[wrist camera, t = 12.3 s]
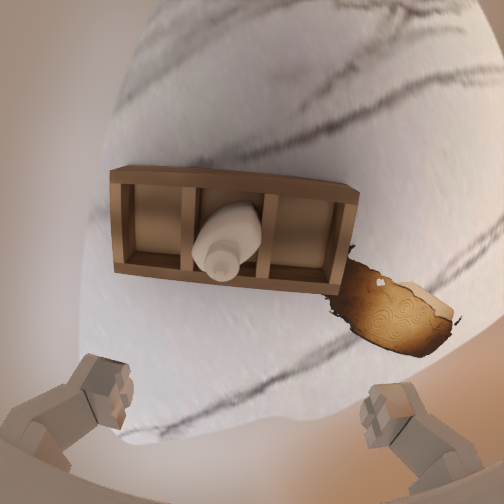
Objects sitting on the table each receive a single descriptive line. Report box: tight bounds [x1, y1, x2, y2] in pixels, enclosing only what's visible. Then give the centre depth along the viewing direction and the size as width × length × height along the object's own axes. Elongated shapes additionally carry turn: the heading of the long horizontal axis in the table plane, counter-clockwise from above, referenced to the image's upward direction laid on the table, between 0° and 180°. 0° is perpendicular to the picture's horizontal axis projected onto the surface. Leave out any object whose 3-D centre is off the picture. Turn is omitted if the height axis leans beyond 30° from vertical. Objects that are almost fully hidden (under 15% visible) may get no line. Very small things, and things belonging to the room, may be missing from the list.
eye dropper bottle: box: [191, 201, 262, 282], centre depth 25 cm, size 4×6×12 cm
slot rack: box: [110, 165, 360, 295], centre depth 29 cm, size 10×23×4 cm, turn 84°
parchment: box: [312, 245, 462, 358], centre depth 35 cm, size 25×10×1 cm, turn 61°
